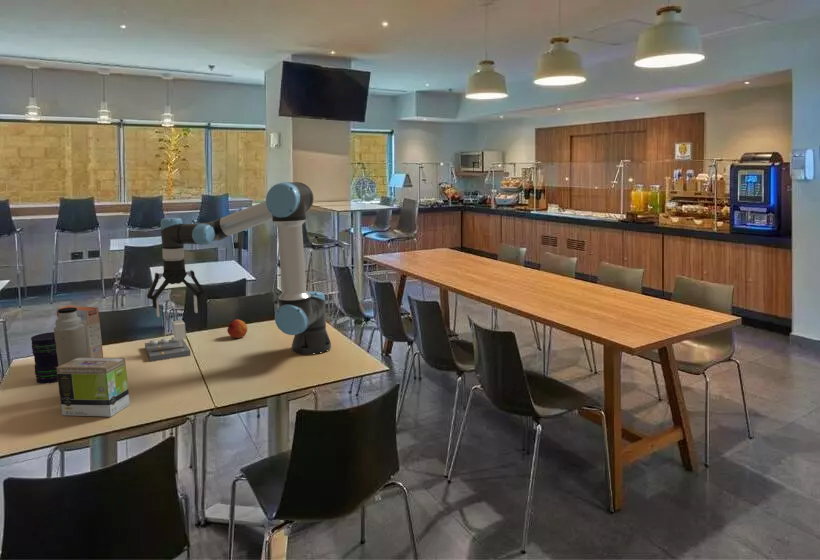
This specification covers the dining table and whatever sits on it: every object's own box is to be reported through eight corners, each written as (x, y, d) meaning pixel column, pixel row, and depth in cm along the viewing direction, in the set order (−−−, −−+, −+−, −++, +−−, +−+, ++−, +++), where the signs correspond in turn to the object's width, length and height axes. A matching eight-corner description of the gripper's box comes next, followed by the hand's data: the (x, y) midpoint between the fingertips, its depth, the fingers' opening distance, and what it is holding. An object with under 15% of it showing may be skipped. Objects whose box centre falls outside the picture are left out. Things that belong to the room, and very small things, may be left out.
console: (190, 355, 218) (189, 346, 217) (150, 361, 211) (149, 352, 210) (182, 342, 235) (181, 334, 234) (145, 347, 228) (144, 339, 228)
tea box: (131, 404, 171) (126, 356, 169) (110, 418, 161) (105, 368, 159) (83, 402, 173) (78, 355, 170) (60, 416, 163) (54, 366, 160)
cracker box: (105, 362, 211) (99, 306, 207) (91, 367, 205) (84, 310, 201) (76, 358, 215) (70, 304, 211) (61, 363, 209) (55, 307, 206)
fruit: (227, 336, 245) (226, 317, 243) (247, 334, 247) (246, 316, 246) (227, 341, 237) (226, 322, 236) (248, 339, 240) (247, 320, 238)
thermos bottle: (56, 402, 173) (45, 311, 168) (70, 392, 181) (60, 305, 176) (84, 401, 174) (74, 311, 169) (96, 391, 182) (87, 305, 177)
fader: (186, 347, 220) (184, 323, 218) (177, 349, 218) (175, 324, 216) (184, 343, 225) (182, 320, 223) (174, 345, 223) (172, 321, 221)
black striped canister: (29, 381, 191) (23, 338, 189) (57, 372, 200) (52, 330, 197) (48, 385, 187) (43, 341, 185) (76, 376, 196) (72, 333, 193)
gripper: (206, 255, 225) (209, 308, 229) (136, 260, 213) (140, 315, 216) (210, 258, 218) (213, 312, 222) (138, 262, 206) (142, 320, 210)
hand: (177, 314), depth 219 cm, fingers open, 13 cm apart
